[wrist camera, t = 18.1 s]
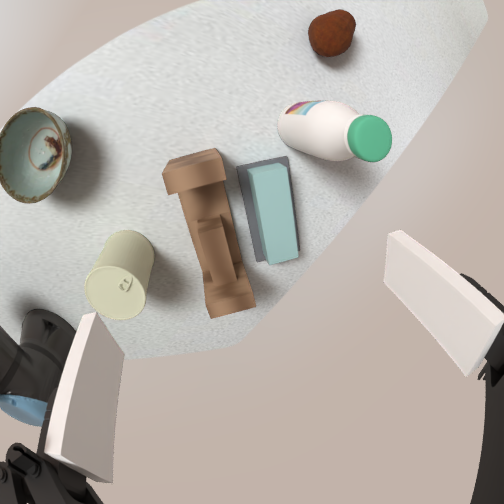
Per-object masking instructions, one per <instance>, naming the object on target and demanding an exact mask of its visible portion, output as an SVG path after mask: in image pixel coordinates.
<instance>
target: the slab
mask: <svg viewBox="0 0 504 504" xmlns="http://www.w3.org/2000/svg"><path fill="white" fill-rule="evenodd" d="M247 171H248V176H249V181H250V186H251V191H252V196H253V202H254V207H255V212H256V217H257V222H258V227H259V233H260V238H261V243H262V248H263V254H264V256H265V258H266V260H267V262H268V264H269V265H272V264H276V263H280V262H283V261H287V260H291V259H294V258H298V248H297V240H296V231H295V223H294V215H293V208H292V200H291V193H290V186H289V179H288V172H287V167H285V166H284V165H282V164H280V163H274V164H269V165H265V166H260V167H255V168H251V169H247Z"/></svg>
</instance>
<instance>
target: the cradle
mask: <svg viewBox="0 0 504 504" xmlns="http://www.w3.org/2000/svg"><path fill="white" fill-rule="evenodd" d="M162 176H163V179H164V183H165V186H166V190H167V193H168V195H171V194H174V193H178V195H179V199H180V202H181V205H182V209H183V212H184V215H185V219H186V222H187V225H188V228H189V232H190V235H191V238H192V241H193V244H194V247H195V250H196V253H197V257H198V260H199V263H200V266H201V269H202V272H203V282H204V293H205V303H206V307H207V310H208V313H209V315H210V318H211V319H212V318H216V317H220V316H224V315H228V314H231V313H235V312H239V311H243V310H246V309H250V308H254V307H256V304H255V299H254V295H253V292H252V289H251V286H250V283H249V280H248V277H247V274H246V271H245V268H244V265H243V262H242V259H241V254H240V250H239V246H238V242H237V238H236V234H235V229H234V225H233V221H232V217H231V213H230V208H229V204H228V200H227V196H226V191H225V187H224V183H223V180H227V179H226V175H225V171H224V166H223V162H222V157H221V156H220V154H219V153H218V151H217V150H216V148H213V149H209V150H205V151H201V152H197V153H193V154H190V155H186V156H182V157H179V158H175V159H172V160H169V162H168V164H167V165H166V167H165V169H164V171H163V173H162Z"/></svg>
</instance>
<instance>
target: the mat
mask: <svg viewBox="0 0 504 504" xmlns="http://www.w3.org/2000/svg"><path fill="white" fill-rule="evenodd" d="M274 163H280V164H282V165H284V166H285V167H287V172H288V179H289V186H290V193H291V200H292V208H293V215H294V223H295V231H296V240H297V248H298V251H300V246H299V237H298V229H297V221H296V213H295V205H294V198H293V191H292V184H291V177H290V170H289V164H288V157H287V156H284V157H279V158H274V159H269V160H264V161H259V162H254V163H250V164H245V165H241V166H237V172H238V177H239V181H240V186H241V191H242V195H243V200H244V205H245V209H246V214H247V219H248V224H249V228H250V233H251V238H252V243H253V247H254V252H255V257H256V261H257V262H260V261H263V260H266V258H265V256H264V254H263V248H262V243H261V238H260V233H259V227H258V222H257V217H256V212H255V207H254V202H253V196H252V191H251V186H250V181H249V176H248V171H247V169H251V168H255V167H260V166H265V165H269V164H274Z"/></svg>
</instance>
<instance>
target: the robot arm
mask: <svg viewBox="0 0 504 504" xmlns="http://www.w3.org/2000/svg"><path fill="white" fill-rule="evenodd" d="M384 283H385V285H386V286H387V287H388V288H389V289H390V290H391V291H392V292H393V293H394V294H395V295H396V296H397V297H398V298H399V299H400V300H401V301H402V302H403V304H404V305H405V306H406V307H407V308H408V309H409V310H410V311H411V312H412V313H413V314H414V316H415V317H416V318H417V319H418V320H419V321H420V322H421V323H422V325H423V326H424V327H425V328H426V329H427V330H428V331H429V332H430V334H432V336H433V337H434V338H435V339H436V341H437V342H438V343H439V344H440V345H441V346H442V347H443V349H444V350H445V351H446V352H447V354H448V355H449V356H450V357H451V359H452V360H453V361H454V362H455V363H456V365H457V366H458V367H459V368H460V370H461V371H462V372H463V374H464V375H465V376H466V377H467V376H468V375H470V374H471V373H472V372H473V371H475V370H476V369H477V368H478V367H479V365H480V364H481V362H482V361H483V359H484V358H485V359H486V360H487V363H486V364H485V366H484V367H483V369H482V370H481V372H480V373H479V375H478V380H480V379H481V377H482V376H483V374H484V373H485V376H484V378H483V380H486V402H485V422H484V434H483V443H482V451H481V457H480V464H479V469H478V474H477V479H476V483H475V488H474V492H473V495H472V500H471V503H470V504H504V306H503V305H502V304H501V303H500V302H499V301H497V299H495V298H494V297H493V296H492V295H491V294H490V293H487V291H486V290H485V289H484V288H483V287H481V286H480V285H479V284H478V283H477V282H476V281H475V280H473V279H472V278H470V277H468V276H466V275H464V274H458V273H457V272H456V271H455V270H453V269H452V268H451V267H450V266H448V265H447V264H446V263H445V262H443V261H442V260H441V259H439V258H438V257H437V256H436V255H434V254H433V253H432V252H430V251H429V250H428V249H426V248H425V247H424V246H422V245H421V244H419V243H418V242H417V241H415V240H414V239H413V238H411V237H410V236H408V235H407V234H405V233H404V232H403V231H401V230H398V231H394V232H391V233H388V237H387V253H386V264H385V273H384ZM124 355H125V354H124V352H123V351H122V350H121V348H120V347H119V345H118V344H117V343H116V341H115V340H114V338H113V337H112V335H111V334H110V332H109V331H108V329H107V328H106V326H105V325H104V323H103V321H102V320H101V318H100V317H99V315H98V313H97V312H94V313H89V314H85V315H83V316H82V319H81V322H80V324H79V327H78V329H77V332H76V333H75V331H74V330H73V328H72V327H71V326H70V325H69V324H68V323H67V322H66V321H65V320H63V319H62V318H61V317H59V316H58V315H56V314H54V313H52V312H49V311H46V310H41V309H36V310H32V311H30V312H29V313H28V314H27V316H26V317H25V319H24V321H23V324H22V331H21V338H20V345H18V344H17V343H16V342H15V341H14V340H13V339H12V338H11V337H10V336H9V335H8V334H7V333H6V331H5V330H4V329H3V328H2V327H1V326H0V408H1V409H2V410H3V411H4V412H5V413H7V414H8V415H10V416H11V417H13V418H15V419H17V420H19V421H21V422H23V423H26V424H29V425H33V426H41V427H42V429H41V434H40V438H39V444H38V449H37V453H34V452H32V451H31V450H30V449H28V448H27V447H25V446H24V445H22V444H21V443H14V444H12V445H11V446H10V448H9V449H8V451H7V454H6V463H5V462H0V504H27V503H29V504H103V502H102V501H101V499H100V498H99V497H98V495H97V494H96V493H95V491H94V490H93V488H92V487H91V486H90V485H89V484H88V483H87V482H86V477H88V478H90V479H92V480H94V481H96V482H104V483H113V454H114V437H115V436H114V435H115V423H116V413H117V403H118V395H119V387H120V380H121V373H122V367H123V361H124Z"/></svg>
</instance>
